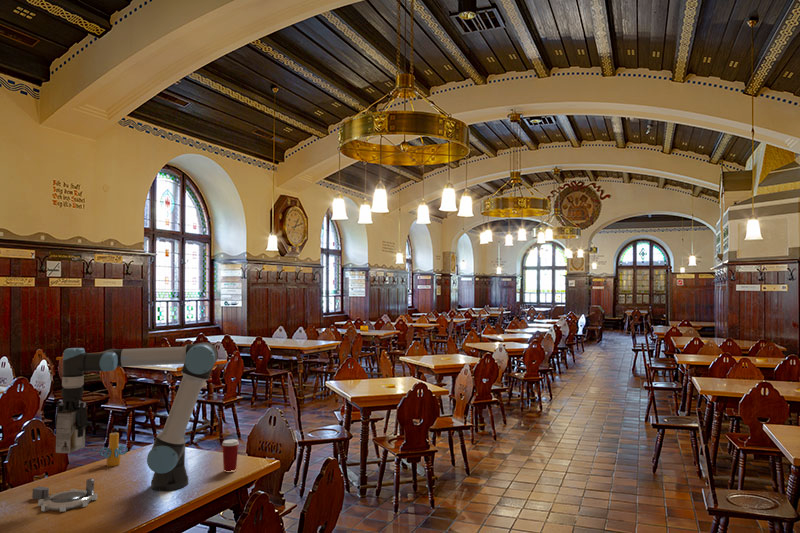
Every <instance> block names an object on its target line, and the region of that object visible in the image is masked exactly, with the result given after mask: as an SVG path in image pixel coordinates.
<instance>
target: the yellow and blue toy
mask: <svg viewBox="0 0 800 533" xmlns="http://www.w3.org/2000/svg"><path fill="white" fill-rule="evenodd" d="M119 439H120V433H119V432H111V433H109V440H108V441H109V442H108V444H109V445H108V446H109V448H108V447H102V448H101V449H100V450H99V455H100V456H101V457H104V458H105V459H106V466H107V467H117V466H120V464H121V456H123V455H126V454H127V453H128V450H129V449H128V447H127V446H125V445H122V444H119ZM123 449H125V451H124V452H123ZM104 450H105V451H104ZM102 451H104V454H103V453H102Z"/></svg>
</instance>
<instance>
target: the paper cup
mask: <svg viewBox="0 0 800 533" xmlns="http://www.w3.org/2000/svg"><path fill="white" fill-rule="evenodd" d="M221 445H222V456H223V457H222V460H223V462H222V463H223V471H224V470H226V471H231V470H235V469H236V470H237V463H238V454H239V452H238V451H239V445H240V443H239V439H235V438H234V439H233V438H231V439H225V440H223V441H222V444H221Z"/></svg>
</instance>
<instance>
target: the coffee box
mask: <svg viewBox="0 0 800 533" xmlns="http://www.w3.org/2000/svg"><path fill="white" fill-rule="evenodd" d="M78 411H79V410H78V409H77V411H71V410H62V411H59V412H57V411H56V413H57V425H55V426H56V427H55V428H56V430H55V432H56V433H55V453H56V454H72V453H74V452H76V451H78V450H81V449H83V448H85V447H86V427H84V428H83V436H82V444H81V445H78V446H74V444H75V429H76V428H77V427H76V414H77V412H78Z"/></svg>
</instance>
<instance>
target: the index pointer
mask: <svg viewBox="0 0 800 533" xmlns="http://www.w3.org/2000/svg"><path fill="white" fill-rule="evenodd" d="M49 494H50V488H49V487H46V486H41V485H40V486H37V487H34V488H32V496H31V497H32V498H33V499H32V500H36V499H37V501H39V499H45V498H46V497H48V496H49Z"/></svg>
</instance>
